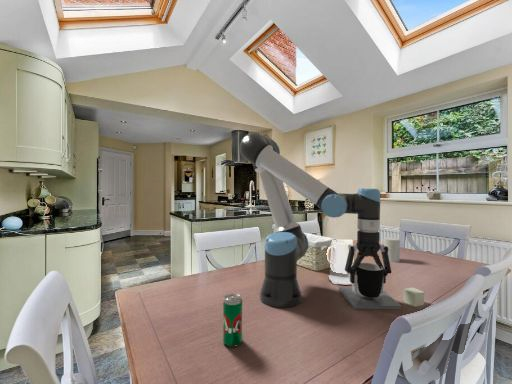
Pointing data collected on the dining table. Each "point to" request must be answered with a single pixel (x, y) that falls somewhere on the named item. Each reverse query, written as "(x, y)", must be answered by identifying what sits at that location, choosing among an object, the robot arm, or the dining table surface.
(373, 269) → the mug
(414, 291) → the sage block
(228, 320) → the soda can
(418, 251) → the dining table surface
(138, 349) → the dining table surface
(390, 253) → the cup
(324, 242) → the storage basket
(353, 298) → the slate trivet
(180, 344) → the dining table surface
